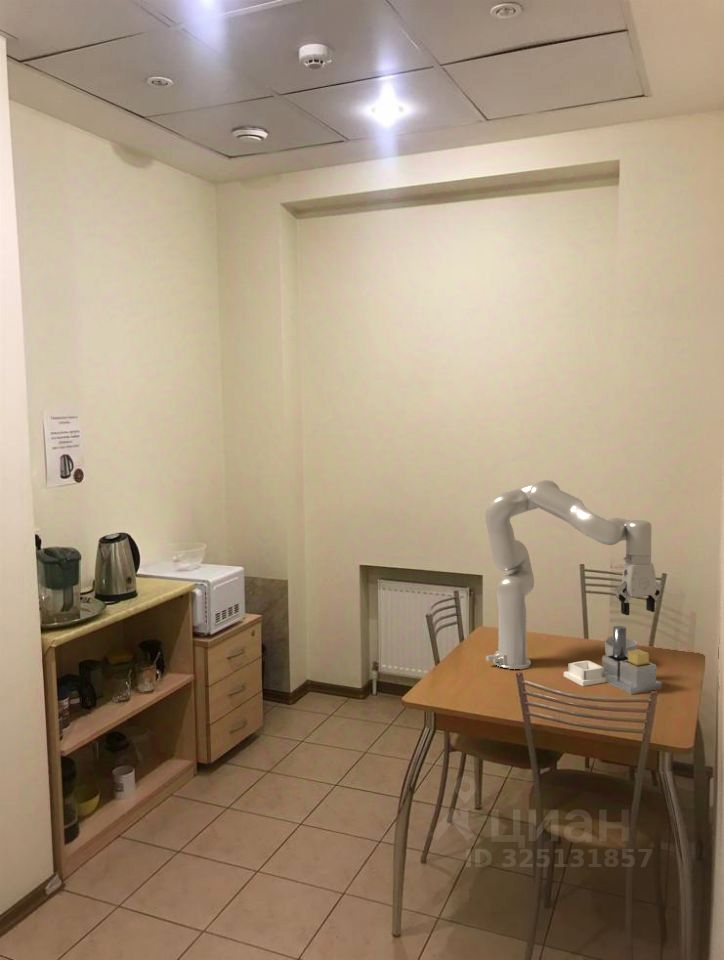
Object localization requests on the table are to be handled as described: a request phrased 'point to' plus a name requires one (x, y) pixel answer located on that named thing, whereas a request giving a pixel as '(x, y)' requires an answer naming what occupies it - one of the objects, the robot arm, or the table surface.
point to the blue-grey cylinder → (619, 643)
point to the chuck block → (630, 675)
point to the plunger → (638, 657)
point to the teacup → (630, 645)
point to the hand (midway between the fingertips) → (637, 612)
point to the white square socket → (585, 673)
